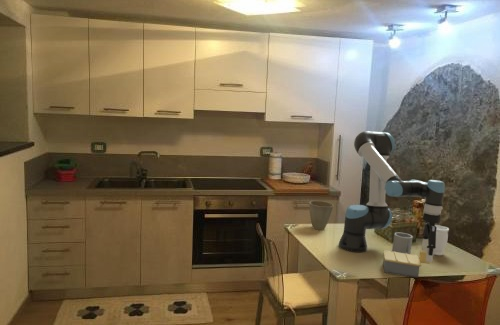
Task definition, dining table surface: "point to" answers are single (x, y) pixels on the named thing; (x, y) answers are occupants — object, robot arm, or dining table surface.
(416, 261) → the lid
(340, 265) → the dining table surface
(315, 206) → the plant pot
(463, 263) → the dining table surface
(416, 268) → the tub
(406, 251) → the cup
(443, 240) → the jar
